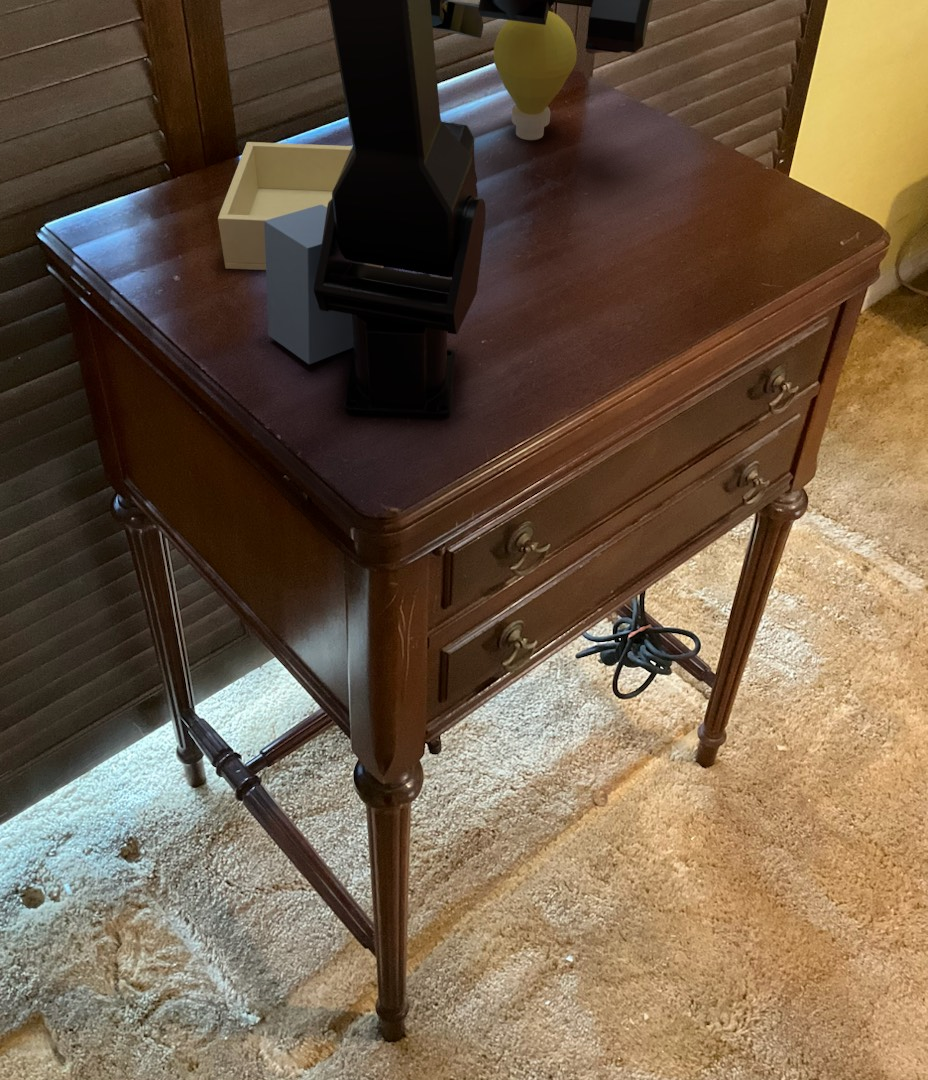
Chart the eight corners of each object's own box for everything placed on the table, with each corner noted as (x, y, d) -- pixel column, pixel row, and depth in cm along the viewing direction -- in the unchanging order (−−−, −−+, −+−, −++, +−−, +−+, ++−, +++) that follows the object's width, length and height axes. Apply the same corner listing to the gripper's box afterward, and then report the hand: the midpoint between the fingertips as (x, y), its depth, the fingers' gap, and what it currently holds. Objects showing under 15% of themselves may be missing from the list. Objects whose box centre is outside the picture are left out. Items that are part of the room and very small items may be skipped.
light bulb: (534, 160, 91) (543, 35, 84) (474, 133, 94) (477, 11, 87) (585, 133, 95) (597, 11, 87) (525, 108, 98) (532, -11, 90)
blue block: (362, 344, 73) (366, 229, 68) (309, 364, 71) (307, 248, 65) (321, 316, 75) (321, 203, 70) (268, 335, 73) (263, 220, 68)
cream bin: (382, 275, 79) (380, 224, 76) (225, 268, 79) (217, 218, 76) (395, 196, 87) (394, 147, 84) (253, 190, 87) (246, 141, 84)
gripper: (675, -174, 71) (673, -48, 87) (399, -201, 75) (444, -75, 90) (639, -1, 72) (643, 94, 87) (366, -35, 75) (416, 62, 90)
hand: (535, 39), depth 89 cm, fingers open, 9 cm apart
